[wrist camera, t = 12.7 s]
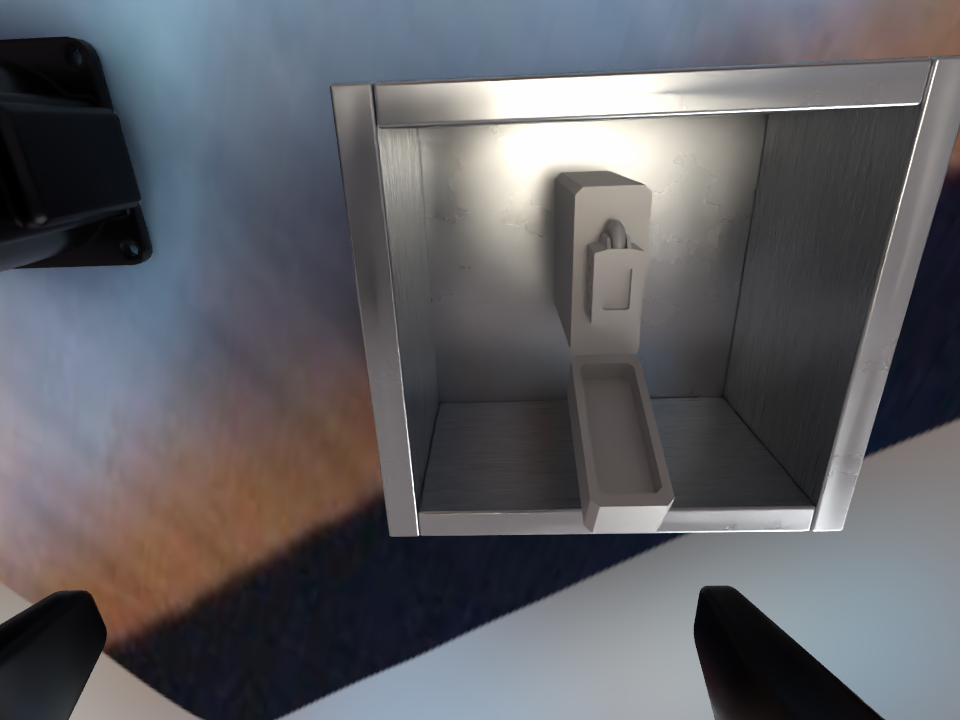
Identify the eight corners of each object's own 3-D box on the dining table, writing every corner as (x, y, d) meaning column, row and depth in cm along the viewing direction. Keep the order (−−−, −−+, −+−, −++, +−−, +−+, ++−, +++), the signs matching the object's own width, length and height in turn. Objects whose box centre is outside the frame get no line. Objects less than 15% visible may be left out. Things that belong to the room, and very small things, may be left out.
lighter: (555, 172, 16) (607, 210, 9) (613, 170, 16) (716, 207, 9) (552, 385, 19) (588, 551, 11) (601, 384, 19) (670, 550, 11)
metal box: (421, 411, 20) (389, 537, 14) (392, 100, 16) (328, 83, 10) (733, 404, 20) (843, 532, 14) (788, 83, 16) (983, 53, 9)
